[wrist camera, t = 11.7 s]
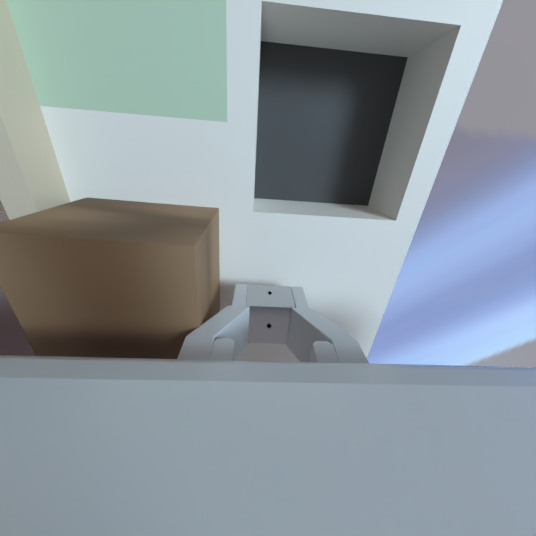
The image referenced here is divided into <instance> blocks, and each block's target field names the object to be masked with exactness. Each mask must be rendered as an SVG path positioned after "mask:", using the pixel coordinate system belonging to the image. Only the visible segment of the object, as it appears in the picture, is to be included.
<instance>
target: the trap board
mask: <svg viewBox="0 0 536 536" xmlns="http://www.w3.org/2000/svg"><path fill="white" fill-rule="evenodd" d="M502 2H503V0H0V200H1V202H2V205H3V207H4V209H5V211H6V213H7V216H8V218H9V220H12V219H15V218H18V217H22V216H25V215H29V214H32V213H35V212H39V211H42V210H46V209H49V208H52V207H56V206H59V205H63V204H66V203H70V202H73V201H76V200H80V199H83V198H100V199H112V200H125V201H137V202H150V203H162V204H175V205H187V206H199V207H212V208H219V266H220V310H219V312H220V311H221V310H223V309H224V308H225V307H227V306H232V300H233V294H234V289H235V285H236V284H247V285H248V284H250V285H266V286H301V287H303V290H304V293H305V296H306V300H307V303H308V306H309V309H314V310H315V311H316V312H318V313H319V314H321V315H322V316H323V317H325V318H326V319H328V320H329V321H330V322H332V323H333V324H334V325H336V326H337V327H339V328H340V329H341V330H343V331H344V332H345V333H347V334H348V335H350V336H351V337H352V338H354V339H355V340H356V341H358V343H359V345H360V347H361V349H362V351H363V353H364V355H365V357H366V358H367V356H368V354H369V351H370V349H371V346H372V343H373V341H374V338H375V335H376V333H377V330H378V328H379V325H380V322H381V320H382V317H383V314H384V312H385V309H386V307H387V304H388V301H389V299H390V296H391V293H392V291H393V288H394V286H395V283H396V280H397V278H398V275H399V272H400V270H401V267H402V265H403V262H404V259H405V257H406V254H407V251H408V249H409V246H410V244H411V241H412V238H413V236H414V233H415V230H416V228H417V225H418V223H419V220H420V217H421V215H422V212H423V209H424V207H425V204H426V202H427V199H428V196H429V194H430V191H431V188H432V186H433V183H434V180H435V178H436V175H437V173H438V170H439V167H440V165H441V162H442V159H443V157H444V154H445V152H446V149H447V146H448V144H449V141H450V138H451V136H452V133H453V131H454V128H455V125H456V123H457V120H458V117H459V115H460V112H461V110H462V107H463V104H464V101H465V99H466V96H467V94H468V91H469V88H470V86H471V83H472V80H473V78H474V75H475V73H476V70H477V68H478V65H479V62H480V59H481V57H482V54H483V52H484V49H485V47H486V44H487V41H488V39H489V36H490V33H491V31H492V28H493V25H494V23H495V20H496V18H497V15H498V12H499V10H500V7H501V4H502ZM235 361H276V362H300V361H299V360H298V359H297V358H296V356H295V355H294V354H293V353H292V351H291V350H290V349H289V348H288V346H287V344H274V343H248V345H247V346H246V348H245V349H244V350H243V351H242V353H241V354H240V355H239V356H238V358H237V359H236V360H235Z"/></svg>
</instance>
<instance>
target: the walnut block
mask: <svg viewBox="0 0 536 536" xmlns="http://www.w3.org/2000/svg"><path fill="white" fill-rule="evenodd" d="M0 287H1V288H2V290H3V292H4V294H5V296H6V298H7V300H8V302H9V304H10V306H11V308H12V310H13V311H14V313H15V315H16V317H17V319H18V321H19V323H20V325H21V327H22V329H23V331H24V332H25V334H26V336H27V338H28V340H29V342H30V344H31V346H32V348H33V350H34V352H35V354H36V355H37V356H63V357H105V358H148V359H177V358H178V355H179V353H180V350H181V348H182V345H183V343H184V340H185V338H186V336H187V335H188V334H190V333H191V332H193V331H194V330H195V329H197V328H199V327H200V326H201V325H202V324H203V323H205V322H206V321H208V320H209V319H210V318H212V317H213V316H214V315H216V314H217V313H219V310H220V266H219V208H212V207H199V206H187V205H175V204H162V203H150V202H137V201H125V200H112V199H100V198H83V199H80V200H76V201H73V202H70V203H66V204H63V205H59V206H56V207H52V208H49V209H46V210H42V211H39V212H35V213H32V214H29V215H25V216H22V217H18V218H15V219H12V220H8V221H5V222H1V223H0Z"/></svg>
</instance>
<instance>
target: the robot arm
mask: <svg viewBox="0 0 536 536" xmlns="http://www.w3.org/2000/svg"><path fill="white" fill-rule="evenodd" d="M248 343H274V344H287V346H288V348H289V349H290V350H291V351H292V353H293V354H294V355H295V356H296V358H297V359H298V360H299V361H300V362H276V361H235V360H236V359H237V358H238V356H239V355H240V354H241V353H242V351H243V350H244V349H245V348H246V346H247V345H248ZM0 536H536V367H493V366H449V365H406V364H369V362H368V360H367V358H366V357H365V355H364V353H363V351H362V349H361V347H360V345H359V343H358V341H356V340H355V339H354V338H352V337H351V336H350V335H348V334H347V333H345V332H344V331H343V330H341V329H340V328H339V327H337V326H336V325H334V324H333V323H332V322H330V321H329V320H328V319H326V318H325V317H323V316H322V315H321V314H319V313H318V312H316V311H315V310H314V309H309V306H308V303H307V300H306V296H305V293H304V290H303V287H301V286H266V285H250V284H248V285H247V284H236V285H235V289H234V294H233V300H232V306H227V307H225V308H224V309H223V310H221V311H220V312H219V313H217V314H216V315H214V316H213V317H212V318H210V319H209V320H208V321H206V322H205V323H203V324H202V325H201V326H200V327H199V328H197V329H195V330H194V331H193V332H191V333H190V334H188V335H187V336H186V338H185V340H184V343H183V345H182V348H181V350H180V353H179V355H178V358H177V359H148V358H105V357H63V356H20V355H0Z"/></svg>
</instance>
